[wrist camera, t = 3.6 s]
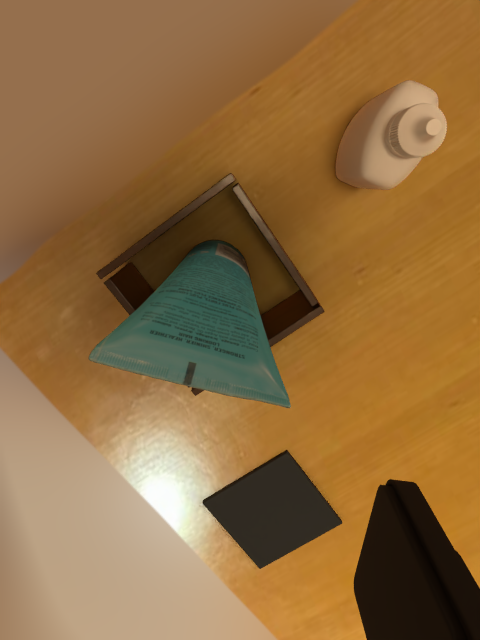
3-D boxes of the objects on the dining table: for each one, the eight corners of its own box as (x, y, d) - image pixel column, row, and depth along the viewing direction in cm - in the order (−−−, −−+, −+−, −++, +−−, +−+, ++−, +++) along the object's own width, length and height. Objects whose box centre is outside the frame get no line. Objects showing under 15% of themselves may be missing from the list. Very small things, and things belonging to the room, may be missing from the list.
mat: (259, 565, 43) (260, 569, 43) (202, 500, 41) (202, 503, 40) (341, 520, 41) (342, 523, 41) (286, 449, 39) (287, 452, 39)
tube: (164, 294, 35) (82, 422, 17) (172, 231, 34) (92, 296, 15) (259, 310, 36) (280, 452, 17) (270, 248, 34) (308, 332, 16)
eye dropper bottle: (414, 144, 32) (513, 125, 20) (349, 196, 33) (407, 206, 22) (380, 90, 31) (463, 39, 19) (313, 146, 32) (354, 128, 20)
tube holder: (202, 362, 37) (195, 396, 31) (119, 257, 34) (95, 273, 29) (310, 289, 35) (324, 311, 29) (232, 173, 32) (230, 172, 27)
